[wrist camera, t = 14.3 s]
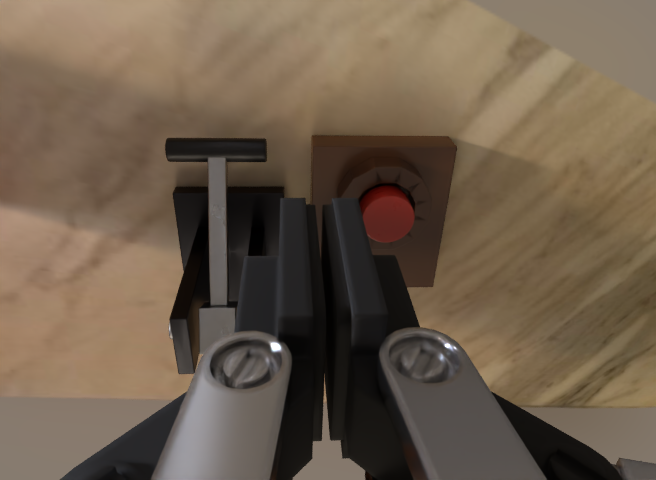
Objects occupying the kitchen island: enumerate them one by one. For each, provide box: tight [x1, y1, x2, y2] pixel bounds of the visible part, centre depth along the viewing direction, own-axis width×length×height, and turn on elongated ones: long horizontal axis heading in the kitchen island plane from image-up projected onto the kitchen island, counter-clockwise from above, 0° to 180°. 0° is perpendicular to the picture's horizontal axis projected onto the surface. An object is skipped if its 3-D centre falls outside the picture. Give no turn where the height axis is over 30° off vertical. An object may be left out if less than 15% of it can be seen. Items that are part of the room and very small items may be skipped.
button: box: [359, 185, 415, 242], centre depth 34 cm, size 4×4×2 cm
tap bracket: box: [169, 187, 284, 374], centre depth 35 cm, size 10×8×12 cm
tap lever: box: [165, 138, 267, 354], centre depth 31 cm, size 13×6×2 cm, turn 179°
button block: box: [310, 135, 457, 287], centre depth 38 cm, size 12×10×4 cm
